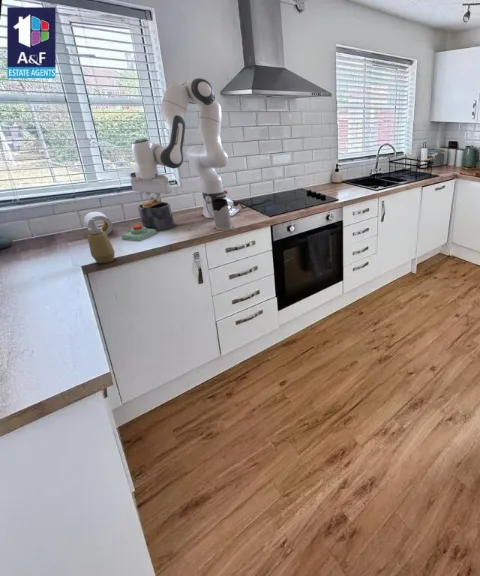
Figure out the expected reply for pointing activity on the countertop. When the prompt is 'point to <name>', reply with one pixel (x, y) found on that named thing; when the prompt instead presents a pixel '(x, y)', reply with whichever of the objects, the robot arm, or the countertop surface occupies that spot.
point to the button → (137, 227)
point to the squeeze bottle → (99, 244)
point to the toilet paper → (96, 216)
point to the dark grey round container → (157, 216)
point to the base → (138, 234)
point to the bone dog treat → (151, 203)
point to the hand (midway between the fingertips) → (154, 201)
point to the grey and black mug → (221, 214)
